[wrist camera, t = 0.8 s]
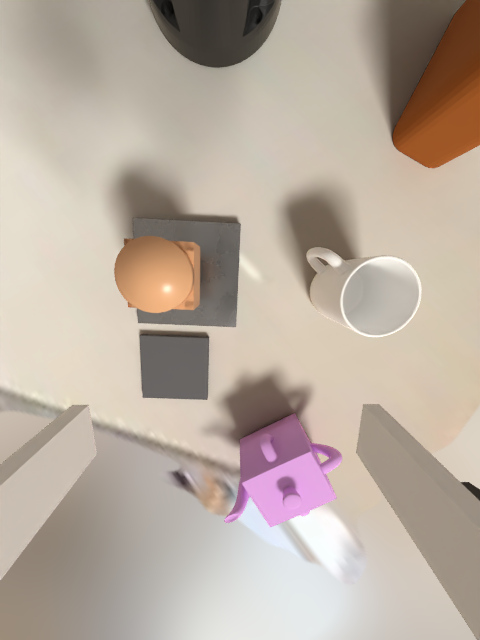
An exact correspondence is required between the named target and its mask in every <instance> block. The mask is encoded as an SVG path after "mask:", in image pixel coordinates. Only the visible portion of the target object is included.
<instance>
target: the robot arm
mask: <svg viewBox="0 0 480 640" xmlns="http://www.w3.org/2000/svg"><path fill="white" fill-rule="evenodd" d="M149 1H150V4H151V7H152V10H153V13H154V16H155V19H156V21H157V23H158V25H159V27H160V29H161V31H162V32H163V34H164V36H165V37H166V38H167V40H168V41H169V42H170V44H171V45H172V46H173V47H174V48H175V49H176V50H177V51H178V52H180V53H181V54H182V55H183V56H185V57H186V58H188V59H189V60H191V61H193V62H195V63H198V64H201V65H204V66H208V67H227V66H231V65H234V64H237V63H239V62H242V61H243V60H245V59H247V58H248V57H250V56H251V55H252V54H254V53H255V52H256V51H257V50H258V49H259V48H260V47H261V46H262V44H263V43H264V42H265V40H266V39H267V38H268V36H269V34H270V33H271V31H272V29H273V27H274V24H275V22H276V19H277V16H278V13H279V9H280V5H281V0H149ZM356 453H357V454H358V456H359V458H360V459H361V461H362V462H363V464H364V465H365V467H366V468H367V470H368V471H369V473H370V475H371V476H372V478H373V479H374V481H375V482H376V484H377V485H378V487H379V488H380V490H381V492H382V493H383V495H384V496H385V498H386V499H387V501H388V502H389V504H390V505H391V507H392V508H393V510H394V511H395V513H396V515H397V516H398V518H399V519H400V521H401V523H402V524H403V525H404V527H405V529H406V530H407V531H408V533H409V535H410V536H411V538H412V540H413V541H414V543H415V544H416V546H417V547H418V549H419V550H420V552H421V553H422V555H423V557H424V558H425V559H426V561H427V563H428V564H429V566H430V567H431V569H432V570H433V572H434V573H435V575H436V577H437V578H438V580H439V581H440V583H441V584H442V586H443V588H444V589H445V591H446V592H447V594H448V595H449V597H450V598H451V600H452V601H453V603H454V605H455V606H456V608H457V609H458V611H459V612H460V614H461V615H462V617H463V618H464V620H465V622H466V623H467V625H468V626H469V628H470V629H471V631H472V632H473V634H474V636H475V637H476V639H477V640H480V489H478V488H476V487H475V486H474V485H472V484H470V483H469V482H460V481H458V480H457V479H456V478H455V477H454V476H453V475H452V474H451V473H450V472H449V471H448V470H447V469H446V468H445V467H444V466H443V465H442V464H441V463H440V462H439V461H438V460H437V459H436V458H434V457H433V456H432V455H431V454H430V453H429V452H428V451H427V450H426V449H425V448H424V447H423V446H422V445H421V444H420V443H419V442H418V441H417V440H416V439H415V438H414V437H413V436H412V435H411V434H409V433H408V432H407V431H406V430H405V429H404V428H403V427H402V426H401V425H400V424H399V423H398V422H397V421H396V420H395V419H394V418H393V417H392V416H391V415H390V414H389V413H388V412H386V411H385V410H384V409H383V408H382V407H381V406H380V405H379V404H363V409H362V416H361V423H360V430H359V437H358V443H357V450H356ZM96 454H97V451H96V445H95V440H94V433H93V427H92V421H91V415H90V409H89V405H72V406H71V407H69V408H68V409H67V410H66V411H65V412H63V413H62V414H61V415H60V416H59V417H57V418H56V419H55V420H54V421H53V422H51V423H50V424H49V425H48V426H46V427H45V428H44V429H43V430H42V431H40V432H39V433H38V434H37V435H36V436H34V437H33V438H32V439H31V440H29V441H28V442H27V443H26V444H25V445H23V446H22V447H21V448H20V449H19V450H17V451H16V452H15V453H14V454H12V455H11V456H10V457H9V458H8V459H6V460H5V461H4V462H3V463H2V464H0V580H1V579H2V577H3V576H4V575H5V573H6V572H7V571H8V570H9V568H10V567H11V566H12V564H13V563H14V562H15V561H16V559H17V558H18V557H19V555H20V554H21V553H22V551H23V550H24V548H25V547H26V546H27V545H28V543H29V542H30V541H31V540H32V538H33V537H34V536H35V534H36V533H37V531H38V530H39V529H40V528H41V526H42V525H43V524H44V522H45V521H46V520H47V519H48V517H49V516H50V515H51V513H52V512H53V511H54V509H55V508H56V507H57V505H58V504H59V503H60V501H61V500H62V499H63V497H64V496H65V495H66V493H67V492H68V491H69V490H70V488H71V487H72V486H73V484H74V483H75V482H76V480H77V479H78V478H79V477H80V475H81V474H82V473H83V471H84V470H85V469H86V467H87V466H88V465H89V463H90V462H91V461H92V459H93V458H94V457H95V456H96Z"/></svg>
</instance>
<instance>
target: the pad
mask: <svg viewBox="0 0 480 640" xmlns="http://www.w3.org/2000/svg"><path fill="white" fill-rule="evenodd" d="M140 350H141V370H142V391H143V398H172V399H202V400H207V398H208V362H209V337H199V336H174V335H149V334H142V335H140Z"/></svg>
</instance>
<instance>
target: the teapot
mask: <svg viewBox="0 0 480 640" xmlns="http://www.w3.org/2000/svg"><path fill="white" fill-rule="evenodd" d="M316 452H317V453H320V454H323V455H325V456H327V457H329V459H328V460H326V461H325V462H323V463H322V464H321V462H320V459H319V457H318V455H317V453H316ZM341 461H342V455H341V453H340V452H339V451H338V450H336V449H335V448H333V447H330V446H326V445H321V444H314V443H311V442H310V440H309V438H308V436H307V434H306V433H305V431H304V429H303V427H302V425H301V423H300V422H299V420H298V418H297V416H296V414H295V413H294V414H292V415H289V416H287V417H285V418H283V419H281V420H279V421H277V422H275V423H273V424H271V425H268V426H266V427H264V428H262V429H260V430H258V431H256V432H254V433H252V434H250V435H248V436H246V437H243V438H241V439H240V472H241V478H240V482H239V488H238V495H237V500H236V503H235V506H234V508H233V509H232V511H231V512H230V513H229V515H228V516H227V517H226V518H225V520H224V521H225V522H226V523H230V522H233V521H235V520H236V519H238V518H239V517H240V516H241V514H242V513H243V511H244V509H245V507H246V504H247V501H248V498H249V496H250V497H251V498H252V500H253V502H254V503H255V505H256V506H257V508H258V509H259V511H260V512H261V514H262V515H263V517H264V518H265V520H266V521H267V523H268V524H269V526H270V527H272V526H275V525H277V524H279V523H282V522H284V521H287V520H289V519H291V518H293V517H296V516H298V515H301V516H305V515H307V514H308V513H309V512H310V510H312V509H314V508H316V507H319V506H321V505H323V504H325V503H328V502H330V501H332V500H334V499H336V498H337V497H336V495H335V493H334V491H333V488H332V486H331V484H330V482H329V479H328V477H327V475H326V473H328V472H330V471H331V470H333V469H334V468H336V467H337V466H338V465H339V464H340V463H341Z"/></svg>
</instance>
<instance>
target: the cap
mask: <svg viewBox="0 0 480 640" xmlns="http://www.w3.org/2000/svg"><path fill="white" fill-rule="evenodd" d="M124 245H125V246H124V247H123V248H122V250H121V251H120V253H119V254H118V257H117V259H116V263H115V269H114V270H115V280H116V284H117V286H118V289H119V291H120V292H121V294H122V295H123V297H124V298H125V299H126V300H127V301H128V307H135V308H138V309H140V310H142V311H145V312H150V313H161V312H166V311H169V310H171V309H181V310H194V309H195V308H197V307H198V306H199V305H200V246H199V245H197V244H196V243H194V242H183V241H168V240H166V239H164V238H161V237H157V236H143V237H139V238H136V239H124Z"/></svg>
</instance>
